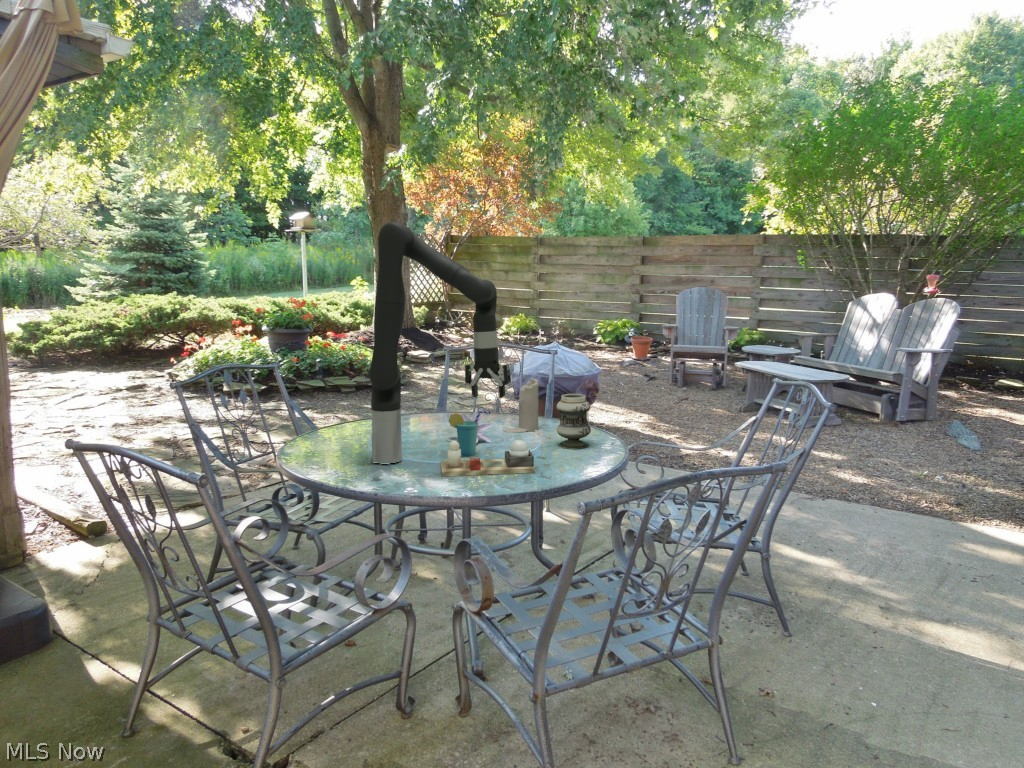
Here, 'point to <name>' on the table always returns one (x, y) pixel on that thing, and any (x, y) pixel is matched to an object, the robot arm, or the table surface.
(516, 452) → the pale round cylinder
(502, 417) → the table surface
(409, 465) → the table surface
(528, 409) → the candle
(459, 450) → the pawn
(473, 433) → the cup
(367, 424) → the table surface
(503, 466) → the board
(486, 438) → the water lily
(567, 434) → the apothecary jar
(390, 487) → the table surface
